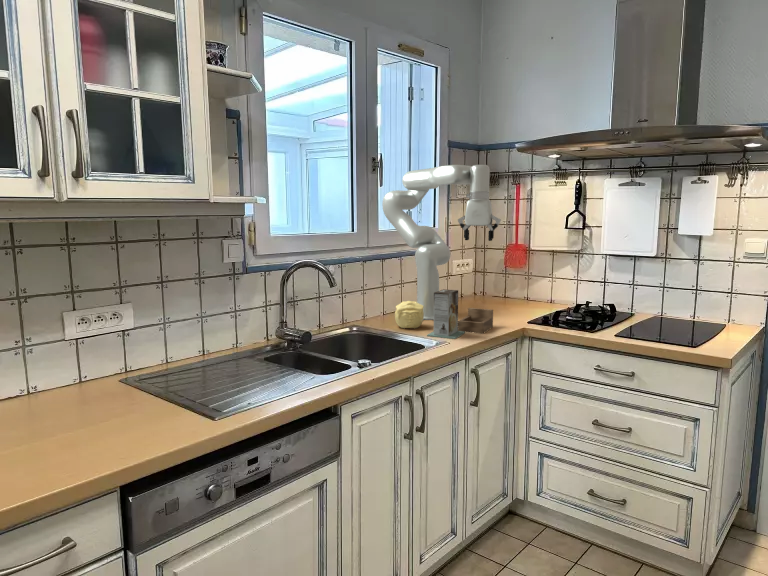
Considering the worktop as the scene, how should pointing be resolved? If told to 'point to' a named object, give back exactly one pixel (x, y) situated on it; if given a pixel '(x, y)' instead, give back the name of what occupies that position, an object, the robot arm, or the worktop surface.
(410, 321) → the sculpture
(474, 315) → the packet holder
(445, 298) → the coffee box
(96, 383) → the worktop surface
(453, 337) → the mat
